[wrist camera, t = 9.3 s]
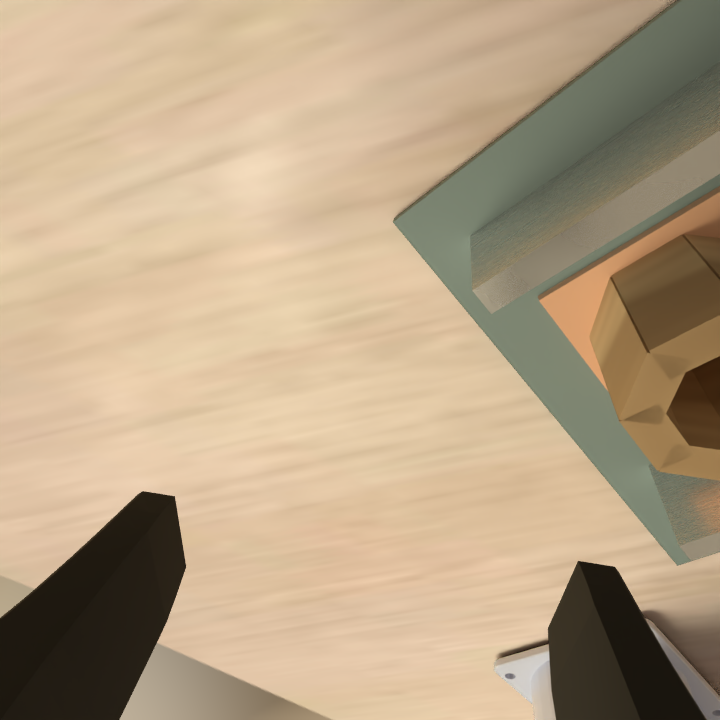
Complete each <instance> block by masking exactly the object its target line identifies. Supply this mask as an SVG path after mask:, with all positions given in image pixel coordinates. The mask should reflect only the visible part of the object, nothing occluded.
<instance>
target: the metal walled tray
mask: <svg viewBox="0 0 720 720" xmlns="http://www.w3.org/2000/svg"><path fill="white" fill-rule="evenodd" d="M719 174H720V61H719V62H718V63H717V64H715V65H714V66H712V67H711V68H709V69H708V70H707V71H705V72H704V73H702V74H701V75H699V76H698V77H697V78H695V79H694V80H692V81H691V82H689V83H688V84H687V85H685V86H684V87H682V88H681V89H679V90H678V91H677V92H675V93H674V94H672V95H671V96H669V97H668V98H667V99H665V100H664V101H662V102H661V103H659V104H658V105H657V106H655V107H654V108H652V109H651V110H649V111H648V112H647V113H645V114H644V115H642V116H641V117H639V118H638V119H637V120H635V121H634V122H632V123H631V124H629V125H628V126H627V127H625V128H624V129H622V130H621V131H619V132H618V133H617V134H615V135H614V136H612V137H611V138H609V139H608V140H607V141H605V142H604V143H602V144H601V145H599V146H598V147H596V148H595V149H594V150H592V151H591V152H589V153H588V154H586V155H585V156H584V157H582V158H581V159H579V160H578V161H576V162H575V163H574V164H572V165H571V166H569V167H568V168H566V169H565V170H564V171H562V172H561V173H559V174H558V175H556V176H555V177H554V178H552V179H551V180H549V181H548V182H546V183H545V184H544V185H542V186H541V187H539V188H538V189H536V190H535V191H534V192H532V193H531V194H529V195H528V196H526V197H525V198H524V199H522V200H521V201H519V202H518V203H516V204H515V205H514V206H512V207H511V208H509V209H508V210H506V211H505V212H504V213H502V214H501V215H499V216H498V217H496V218H495V219H494V220H492V221H491V222H489V223H488V224H486V225H485V226H484V227H482V228H481V229H479V230H478V231H476V232H475V233H474V234H472V235H471V236H470V249H471V273H472V291H473V292H474V293H475V295H476V296H477V297H478V298H479V300H480V301H481V302H482V303H483V305H484V306H485V307H486V308H487V309H488V311H489V312H490V313H491V314H492V313H494V312H496V311H497V310H499V309H500V308H502V307H504V306H505V305H507V304H509V303H510V302H512V301H514V300H515V299H517V298H518V297H520V296H522V295H523V294H525V293H527V292H528V291H530V290H531V289H533V288H535V287H536V286H538V285H540V284H541V283H543V282H544V281H546V280H548V279H549V278H551V277H553V276H554V275H556V274H557V273H559V272H561V271H562V270H564V269H566V268H567V267H569V266H571V265H572V264H574V263H575V262H577V261H579V260H580V259H582V258H584V257H585V256H587V255H588V254H590V253H592V252H593V251H595V250H597V249H598V248H600V247H601V246H603V245H605V244H606V243H608V242H610V241H611V240H613V239H614V238H616V237H618V236H619V235H621V234H623V233H624V232H626V231H628V230H629V229H631V228H632V227H634V226H636V225H637V224H639V223H641V222H642V221H644V220H645V219H647V218H649V217H650V216H652V215H654V214H655V213H657V212H658V211H660V210H662V209H663V208H665V207H667V206H668V205H670V204H671V203H673V202H675V201H676V200H678V199H680V198H681V197H683V196H685V195H686V194H688V193H689V192H691V191H693V190H694V189H696V188H698V187H699V186H701V185H702V184H704V183H706V182H707V181H709V180H711V179H712V178H714V177H715V176H717V175H719ZM648 466H649V469H650V472H651V474H652V477H653V479H654V482H655V485H656V487H657V490H658V492H659V495H660V498H661V500H662V503H663V505H664V508H665V511H666V513H667V516H668V518H669V521H670V524H671V526H672V529H673V531H674V534H675V537H676V539H677V542H678V544H679V547H680V548H681V549H682V550H683V551H684V553H685V554H686V555H687V556H688V558H689V559H690V560H691V561H692V560H695V559H698V558H701V557H704V556H707V555H710V554H713V553H716V552H719V551H720V481H719V480H712V479H705V478H698V477H691V476H684V475H678V474H671V473H664V472H659V470H658V471H657V470H656V469H655V467H654V466H653V465H652V464H650V465H648Z"/></svg>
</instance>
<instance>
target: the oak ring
mask: <svg viewBox="0 0 720 720" xmlns="http://www.w3.org/2000/svg"><path fill="white" fill-rule="evenodd" d="M611 276H612V278H611V277H610V278H609V281H608V284H607V286H606V289H605V292H604V295H603V298H602V301H601V304H600V307H599V310H598V313H597V315H596V318H595V321H594V324H593V327H592V330H591V333H590V336H589V337H590V341H591V344H592V347H593V349H594V352H595V355H596V358H597V361H598V363H599V366H600V369H601V372H602V375H603V377H604V380H605V383H606V386H607V389H608V391H609V394H610V397H611V400H612V403H613V405H614V408H615V411H616V414H617V417H618V419H619V422H620V423H621V424H622V426H623V427H624V428H625V430H626V431H627V432H628V434H629V435H630V436H631V437H632V439H633V440H634V441H635V443H636V444H637V445H638V447H639V448H640V449H641V450H642V452H643V453H644V454H645V456H646V457H647V458H648V459H649V461H650V462H651V463H652V465H653V466H654V467H655V469H656V470H657V471H658V470H659V472H664V473H671V474H678V475H684V476H691V477H698V478H705V479H712V480H719V481H720V238H714V237H706V236H697V235H689V234H684V235H683V236H682V235H680V236H678V237H676V238H674V239H673V240H671V241H669V242H668V243H666V244H664V245H662V246H661V247H659V248H657V249H656V250H654V251H652V252H650V253H649V254H647V255H645V256H644V257H642V258H640V259H639V260H637V261H635V262H633V263H632V264H630V265H628V266H627V267H625V268H623V269H621V270H620V271H618V272H616V273H615V274H613V275H611Z"/></svg>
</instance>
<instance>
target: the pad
mask: <svg viewBox="0 0 720 720" xmlns="http://www.w3.org/2000/svg"><path fill="white" fill-rule="evenodd" d="M684 234H689V235H697V236H706V237H714V238H720V186H719V187H717V188H715V189H714V190H712V191H710V192H709V193H707V194H706V195H704V196H702V197H701V198H699V199H697V200H696V201H694V202H692V203H691V204H689V205H687V206H686V207H684V208H682V209H681V210H679V211H677V212H676V213H674V214H672V215H671V216H669V217H668V218H666V219H664V220H663V221H661V222H659V223H658V224H656V225H654V226H653V227H651V228H649V229H648V230H646V231H644V232H643V233H641V234H639V235H638V236H636V237H634V238H633V239H631V240H629V241H628V242H626V243H625V244H623V245H621V246H620V247H618V248H616V249H615V250H613V251H611V252H610V253H608V254H606V255H605V256H603V257H601V258H600V259H598V260H596V261H595V262H593V263H591V264H590V265H588V266H586V267H585V268H583V269H582V270H580V271H578V272H577V273H575V274H573V275H572V276H570V277H568V278H567V279H565V280H563V281H562V282H560V283H558V284H557V285H555V286H553V287H552V288H550V289H548V290H547V291H545V292H544V293H542V294H540V295H539V296H538V299H539V301H540V303H541V304H542V305H543V307H544V308H545V309H546V311H547V312H548V313H549V315H550V316H551V317H552V318H553V320H554V321H555V322H556V324H557V325H558V326H559V328H560V329H561V330H562V332H563V333H564V334H565V336H566V337H567V338H568V340H569V341H570V342H571V343H572V345H573V346H574V347H575V349H576V350H577V351H578V353H579V354H580V355H581V357H582V358H583V359H584V361H585V362H586V363H587V364H588V366H589V367H590V368H591V370H592V371H593V372H594V374H595V375H596V376H597V378H598V379H599V380H600V382H601V383H602V384H603V385H604V387H605V388H606V389H607V386H606V383H605V380H604V377H603V375H602V372H601V369H600V366H599V363H598V361H597V358H596V355H595V352H594V349H593V347H592V344H591V341H590V337H589V336H590V333H591V330H592V327H593V324H594V321H595V318H596V315H597V313H598V310H599V307H600V304H601V301H602V298H603V295H604V292H605V289H606V286H607V284H608V281H609V278H610V277H611V278H612V276H611V275H613V274H615V273H616V272H618V271H620V270H621V269H623V268H625V267H627V266H628V265H630V264H632V263H633V262H635V261H637V260H639V259H640V258H642V257H644V256H645V255H647V254H649V253H650V252H652V251H654V250H656V249H657V248H659V247H661V246H662V245H664V244H666V243H668V242H669V241H671V240H673V239H674V238H676V237H678V236H680V235H682V236H683V235H684ZM607 391H608V389H607ZM608 392H609V391H608Z"/></svg>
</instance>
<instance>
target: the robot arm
mask: <svg viewBox="0 0 720 720" xmlns="http://www.w3.org/2000/svg"><path fill="white" fill-rule="evenodd" d="M185 569H186V563H185V557H184V551H183V545H182V538H181V532H180V526H179V520H178V514H177V507H176V501H175V496H169V495H163V494H157V493H150V492H144V491H142V492H141V493H139V494H138V495H137V496H136V497H135V498H134V499H133V500H132V501H131V502H129V503H128V504H127V505H126V506H125V507H124V508H123V509H122V510H121V511H120V512H119V513H118V514H117V515H116V516H115V517H114V518H113V519H112V520H111V521H109V522H108V523H107V524H106V525H105V526H104V527H103V528H102V529H101V530H100V531H99V532H98V533H97V534H96V535H95V536H93V537H92V538H91V539H90V540H89V541H88V542H87V543H86V544H85V545H84V546H83V547H82V548H81V549H79V550H78V551H77V552H76V553H75V554H74V555H73V556H72V557H71V558H70V559H68V560H67V561H66V562H65V563H64V564H63V565H62V566H61V567H59V568H58V569H57V570H56V571H55V572H54V573H53V574H52V575H50V576H49V577H48V578H47V579H46V580H45V581H44V582H42V583H41V584H40V585H39V586H38V587H37V588H36V589H35V590H33V591H32V592H31V593H30V594H29V595H28V596H26V597H25V598H24V599H23V600H22V601H20V602H19V603H18V604H17V605H16V606H14V607H13V608H12V609H11V610H10V611H8V612H7V613H6V614H5V615H3V616H2V617H1V618H0V720H119V719H120V717H121V715H122V713H123V711H124V709H125V707H126V705H127V703H128V701H129V699H130V697H131V695H132V692H133V691H134V688H135V686H136V684H137V682H138V680H139V678H140V676H141V674H142V672H143V670H144V668H145V666H146V664H147V662H148V660H149V658H150V656H151V653H152V651H153V649H154V647H155V645H156V643H157V641H158V639H159V637H160V635H161V633H162V631H163V628H164V626H165V624H166V622H167V619H168V617H169V614H170V611H171V608H172V606H173V603H174V600H175V598H176V595H177V592H178V589H179V586H180V583H181V580H182V577H183V574H184V572H185ZM548 638H549V644H547V645H544V646H540V647H537V648H533V649H530V650H527V651H523V652H520V653H516V654H513V655H510V656H506V657H503V658H499V659H497V660H495V662H494V671H495V672H496V673H497V674H498V675H499V676H500V677H501V678H502V679H504V680H505V681H506V682H507V683H508V684H509V685H511V686H512V687H513V688H514V689H515V690H516V691H517V692H519V693H520V694H521V695H522V696H523V697H524V698H526V699H527V700H528V701H529V702H530V703H531V704H532V705H533V714H534V720H720V696H719V695H718V694H717V693H716V691H715V690H714V689H713V688H712V687H711V686H710V685H709V684H708V683H707V682H706V681H705V679H704V678H703V677H702V676H701V675H700V674H699V673H698V672H697V671H696V670H695V668H694V667H693V666H692V665H691V664H690V663H689V662H688V661H687V660H686V659H685V657H684V656H683V655H682V654H681V653H680V652H679V651H678V650H677V649H676V648H675V646H674V645H673V644H672V643H671V642H670V641H669V640H668V639H667V638H666V637H665V635H664V634H663V633H662V632H661V631H660V630H659V629H658V628H657V627H656V626H655V624H654V623H653V622H652V621H650V620H649V619H646V618H644V616H643V614H642V612H641V611H640V609H639V607H638V605H637V604H636V602H635V600H634V598H633V597H632V595H631V593H630V591H629V590H628V588H627V586H626V584H625V582H624V581H623V579H622V577H621V575H620V574H619V572H618V571H617V569H616V568H615V567H613V566H606V565H600V564H594V563H588V562H581V561H578V563H577V565H576V567H575V569H574V572H573V574H572V576H571V578H570V581H569V583H568V585H567V587H566V589H565V592H564V594H563V596H562V598H561V601H560V603H559V605H558V607H557V610H556V612H555V614H554V616H553V618H552V621H551V623H550V625H549V627H548Z"/></svg>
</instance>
